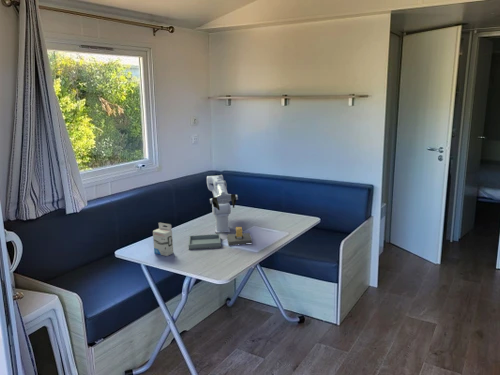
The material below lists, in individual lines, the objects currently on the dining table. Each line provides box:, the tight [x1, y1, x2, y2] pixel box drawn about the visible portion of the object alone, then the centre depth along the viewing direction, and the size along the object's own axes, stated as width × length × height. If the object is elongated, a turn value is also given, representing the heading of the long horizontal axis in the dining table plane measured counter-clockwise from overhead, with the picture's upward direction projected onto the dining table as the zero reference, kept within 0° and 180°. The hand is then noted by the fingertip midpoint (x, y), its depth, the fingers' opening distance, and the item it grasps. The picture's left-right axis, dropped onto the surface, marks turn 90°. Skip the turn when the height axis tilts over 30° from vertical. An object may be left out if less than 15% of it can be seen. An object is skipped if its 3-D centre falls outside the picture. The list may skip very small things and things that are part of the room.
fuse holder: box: [226, 232, 253, 246], centre depth 230 cm, size 12×12×2 cm
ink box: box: [152, 222, 174, 257], centre depth 214 cm, size 8×5×15 cm, turn 60°
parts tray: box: [188, 233, 222, 250], centre depth 227 cm, size 14×16×2 cm
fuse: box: [235, 226, 243, 239], centre depth 229 cm, size 4×3×7 cm
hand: (226, 207), depth 224 cm, fingers open, 7 cm apart
